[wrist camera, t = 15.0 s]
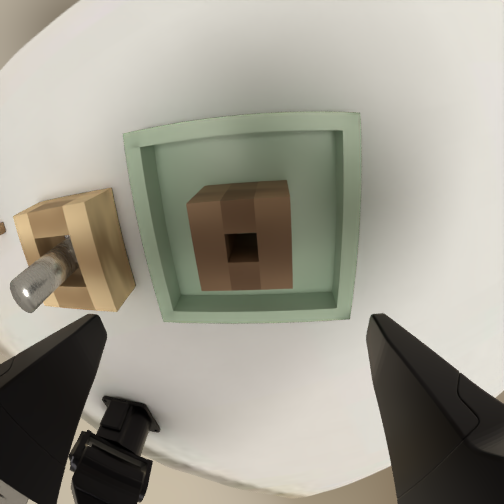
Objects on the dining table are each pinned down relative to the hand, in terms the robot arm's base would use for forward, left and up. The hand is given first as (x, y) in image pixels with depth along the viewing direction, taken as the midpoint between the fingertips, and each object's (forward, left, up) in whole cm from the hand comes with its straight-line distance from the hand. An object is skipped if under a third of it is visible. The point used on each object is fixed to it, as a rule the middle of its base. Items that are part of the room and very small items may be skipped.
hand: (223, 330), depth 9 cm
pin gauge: (-1, +14, -11) cm, 18 cm away
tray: (0, 0, -11) cm, 11 cm away
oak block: (-1, +14, -11) cm, 18 cm away
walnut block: (0, 0, -11) cm, 11 cm away
